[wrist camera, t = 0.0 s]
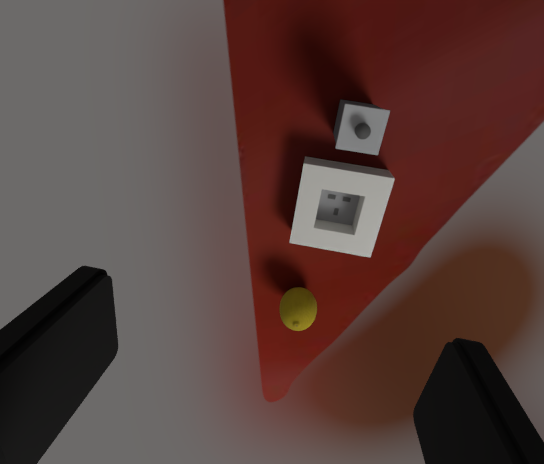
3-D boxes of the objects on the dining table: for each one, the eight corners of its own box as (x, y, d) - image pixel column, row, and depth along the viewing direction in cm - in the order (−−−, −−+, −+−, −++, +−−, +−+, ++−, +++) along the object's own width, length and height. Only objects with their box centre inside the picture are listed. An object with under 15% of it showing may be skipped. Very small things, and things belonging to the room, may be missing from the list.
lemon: (318, 305, 53) (318, 341, 46) (284, 306, 54) (279, 341, 47) (315, 276, 51) (314, 309, 44) (280, 278, 52) (274, 310, 45)
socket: (305, 156, 43) (303, 163, 40) (388, 170, 43) (394, 178, 39) (291, 230, 48) (289, 242, 45) (366, 244, 47) (370, 257, 44)
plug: (339, 98, 40) (346, 104, 30) (374, 103, 40) (392, 111, 30) (332, 133, 42) (336, 150, 32) (365, 138, 41) (379, 157, 32)
